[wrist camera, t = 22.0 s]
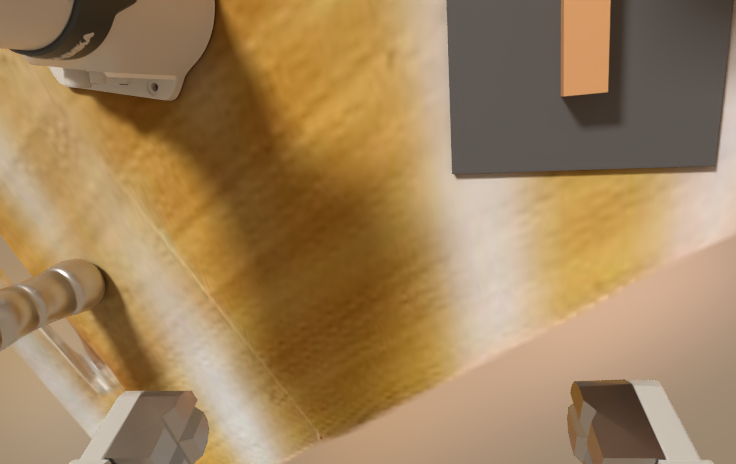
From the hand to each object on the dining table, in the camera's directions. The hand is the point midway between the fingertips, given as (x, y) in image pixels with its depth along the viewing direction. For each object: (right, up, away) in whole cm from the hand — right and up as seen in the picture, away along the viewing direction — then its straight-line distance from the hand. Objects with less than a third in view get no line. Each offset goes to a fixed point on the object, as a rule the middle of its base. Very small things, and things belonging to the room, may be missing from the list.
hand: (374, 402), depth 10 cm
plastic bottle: (-35, -2, +50) cm, 61 cm away
